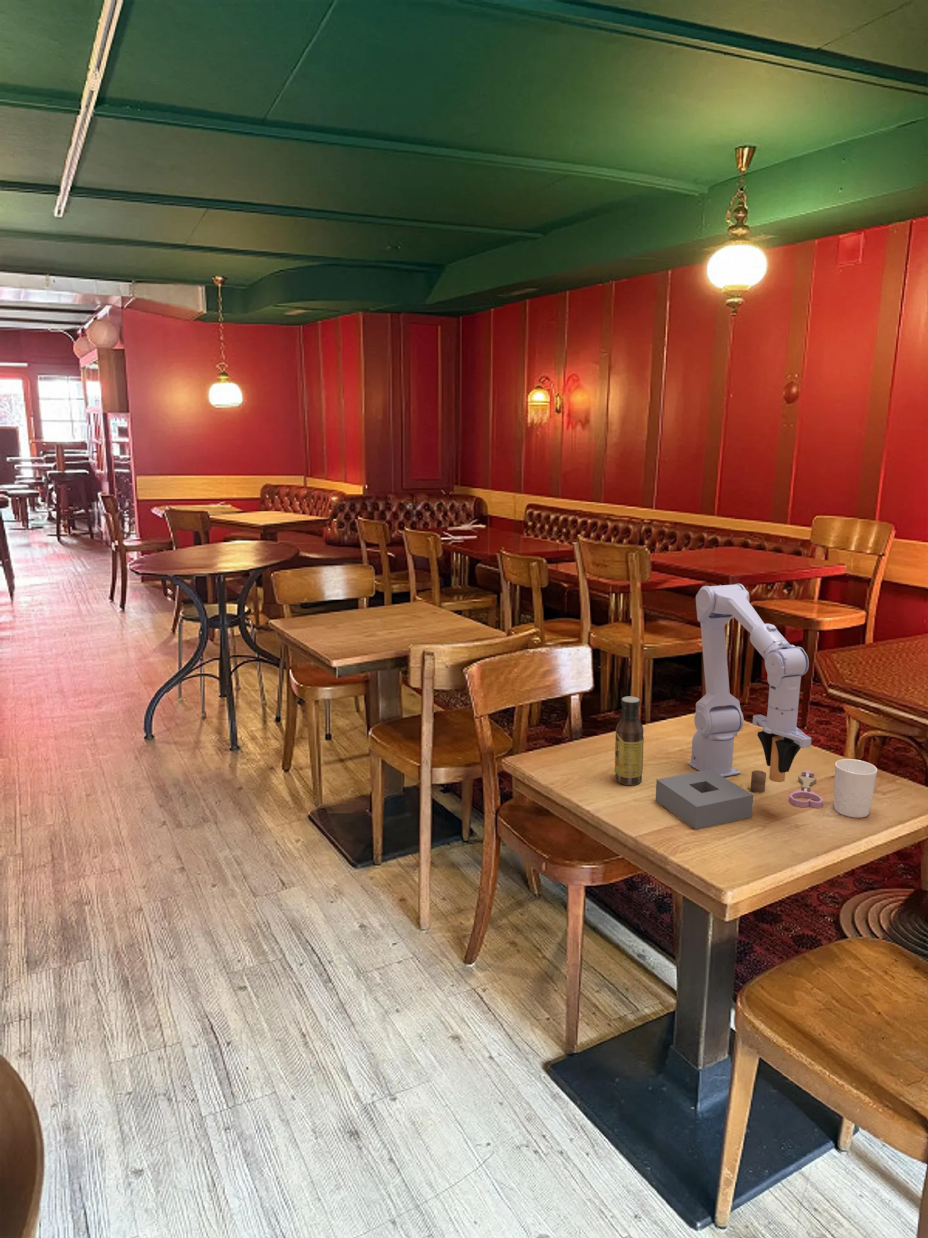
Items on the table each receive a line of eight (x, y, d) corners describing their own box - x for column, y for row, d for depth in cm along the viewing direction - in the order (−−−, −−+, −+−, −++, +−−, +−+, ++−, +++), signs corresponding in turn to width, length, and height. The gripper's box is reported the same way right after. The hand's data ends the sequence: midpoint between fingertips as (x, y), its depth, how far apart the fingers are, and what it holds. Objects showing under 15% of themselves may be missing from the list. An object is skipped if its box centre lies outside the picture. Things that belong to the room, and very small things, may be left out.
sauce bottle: (618, 773, 190) (621, 692, 186) (645, 778, 187) (648, 696, 183) (610, 783, 185) (613, 700, 180) (637, 789, 182) (641, 704, 177)
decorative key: (826, 769, 188) (822, 805, 170) (825, 774, 188) (822, 810, 171) (794, 764, 191) (788, 799, 173) (794, 769, 191) (787, 804, 174)
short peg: (747, 788, 182) (748, 771, 181) (758, 786, 183) (759, 769, 182) (756, 793, 179) (758, 777, 178) (767, 791, 180) (769, 774, 179)
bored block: (655, 800, 176) (656, 779, 175) (709, 790, 181) (710, 769, 180) (695, 829, 163) (696, 806, 162) (751, 817, 168) (753, 795, 167)
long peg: (765, 777, 170) (769, 737, 167) (777, 775, 171) (780, 734, 168) (776, 783, 167) (779, 742, 165) (787, 780, 168) (791, 740, 166)
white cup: (852, 822, 166) (857, 777, 163) (822, 806, 173) (826, 762, 170) (880, 815, 169) (886, 770, 166) (850, 799, 176) (855, 756, 173)
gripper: (742, 697, 170) (738, 758, 173) (793, 720, 157) (787, 785, 160) (769, 693, 173) (765, 753, 176) (821, 715, 159) (815, 779, 163)
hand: (777, 768), depth 168 cm, fingers closed on long peg, 3 cm apart
